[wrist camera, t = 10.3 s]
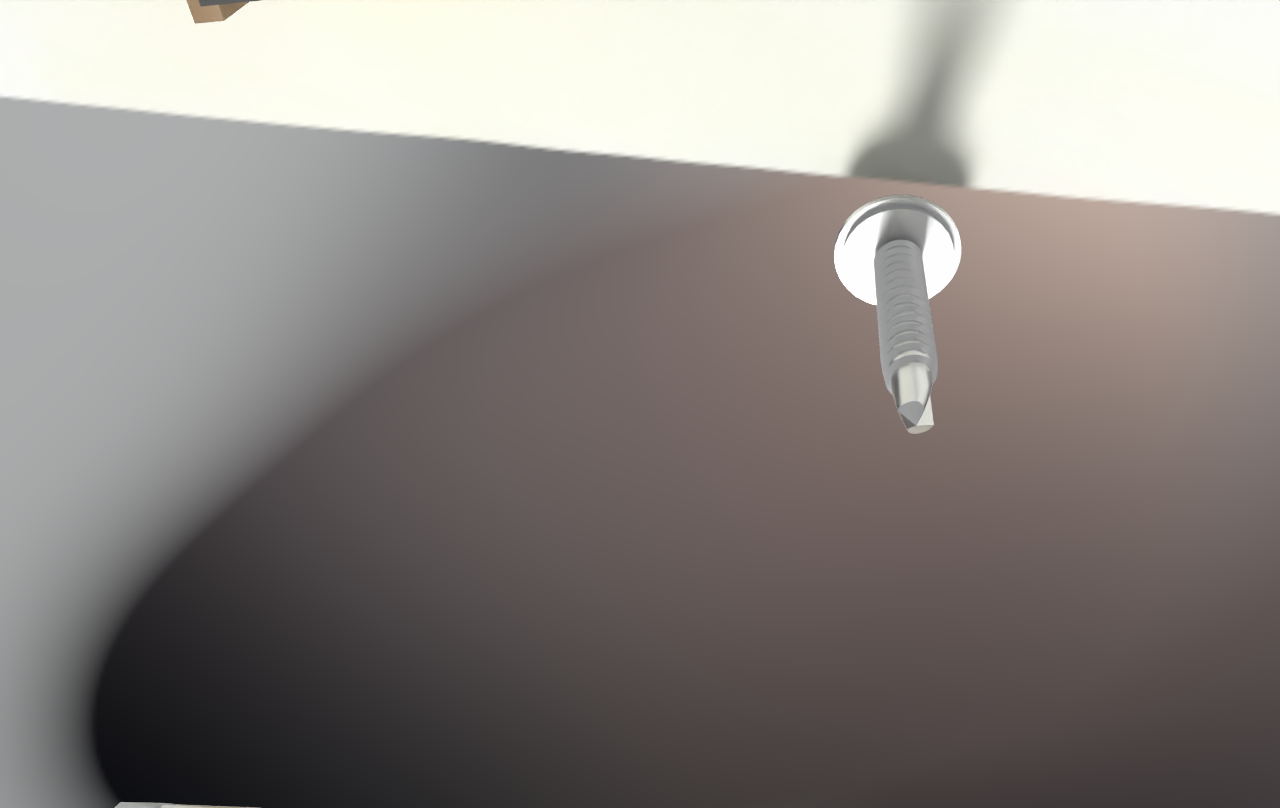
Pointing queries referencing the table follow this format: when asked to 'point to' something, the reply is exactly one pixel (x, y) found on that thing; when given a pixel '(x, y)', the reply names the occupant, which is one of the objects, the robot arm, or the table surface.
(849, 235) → the screw
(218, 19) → the wooden box
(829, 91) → the table surface
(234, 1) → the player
